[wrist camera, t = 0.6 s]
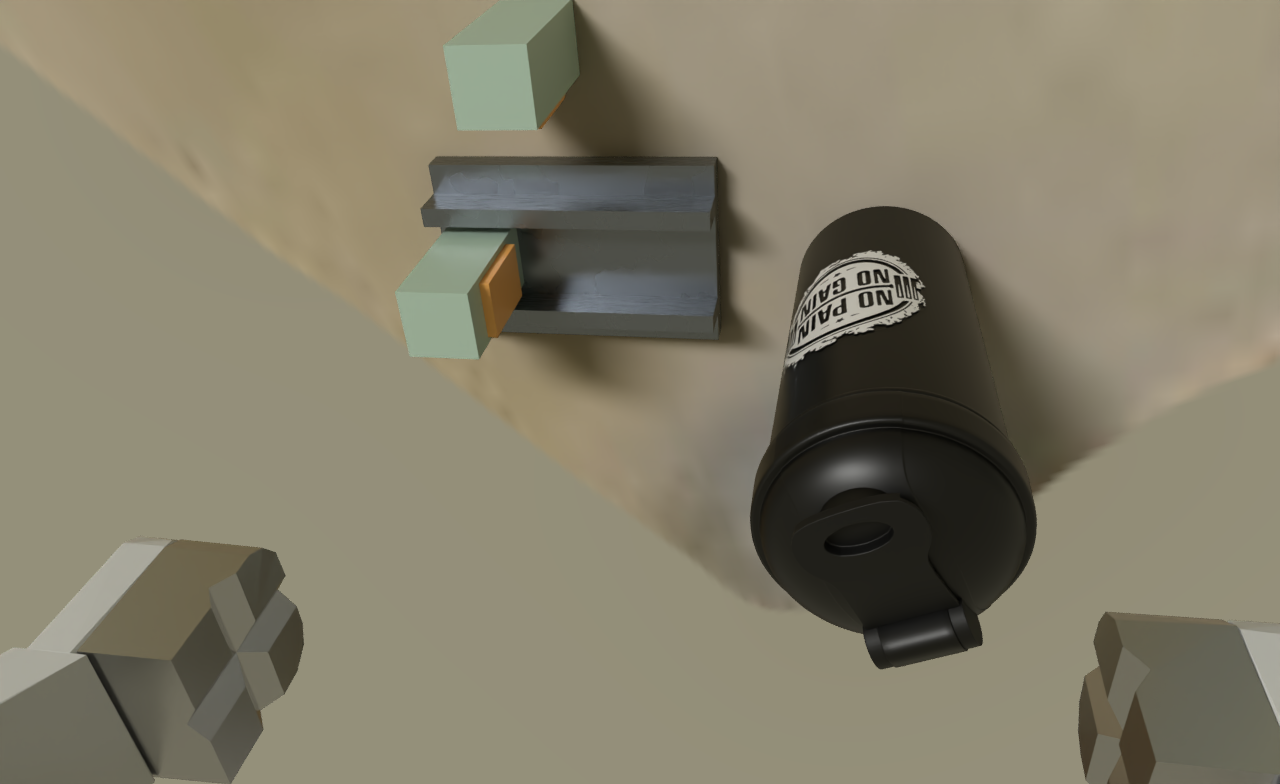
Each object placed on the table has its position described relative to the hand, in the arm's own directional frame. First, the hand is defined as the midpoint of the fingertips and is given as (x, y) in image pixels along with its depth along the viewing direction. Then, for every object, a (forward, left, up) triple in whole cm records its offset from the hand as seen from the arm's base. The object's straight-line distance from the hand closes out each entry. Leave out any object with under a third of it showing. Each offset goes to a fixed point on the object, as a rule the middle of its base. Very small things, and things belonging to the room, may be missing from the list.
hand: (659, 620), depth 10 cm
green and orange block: (+16, -17, -40) cm, 46 cm away
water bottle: (+17, +4, -41) cm, 45 cm away
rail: (+16, -12, -41) cm, 46 cm away
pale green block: (+5, -13, -41) cm, 43 cm away
